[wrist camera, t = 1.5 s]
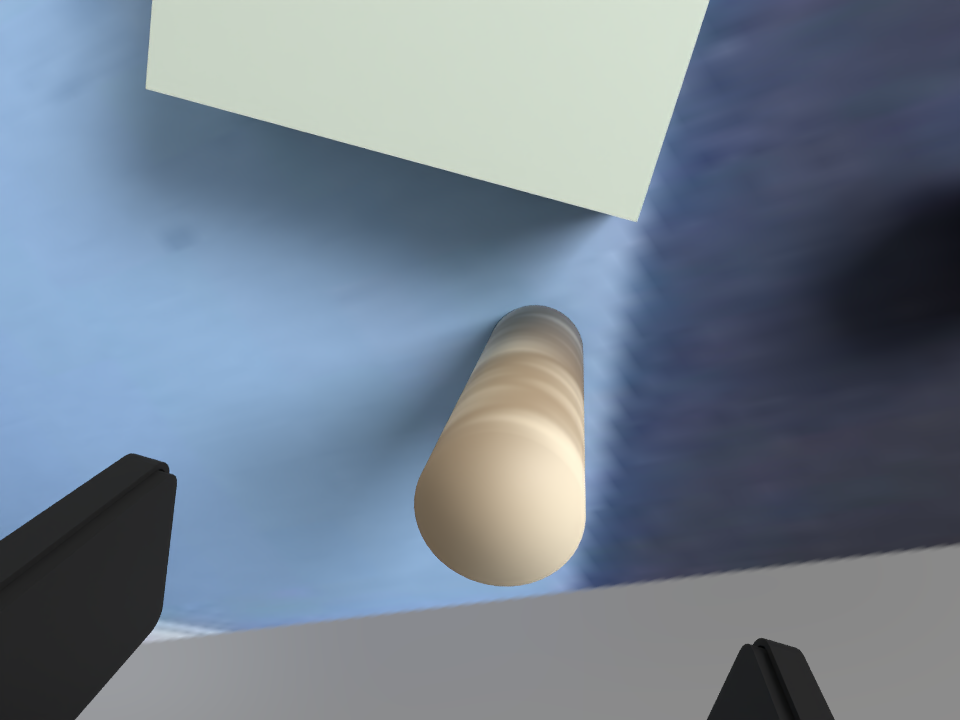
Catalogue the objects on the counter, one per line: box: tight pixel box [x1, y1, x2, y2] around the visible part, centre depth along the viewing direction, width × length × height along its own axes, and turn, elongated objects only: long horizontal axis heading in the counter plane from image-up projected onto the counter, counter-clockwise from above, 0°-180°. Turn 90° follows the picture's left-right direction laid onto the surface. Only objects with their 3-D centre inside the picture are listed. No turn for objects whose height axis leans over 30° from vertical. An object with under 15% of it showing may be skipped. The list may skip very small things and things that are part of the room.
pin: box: [414, 305, 586, 586], centre depth 19 cm, size 4×4×12 cm
